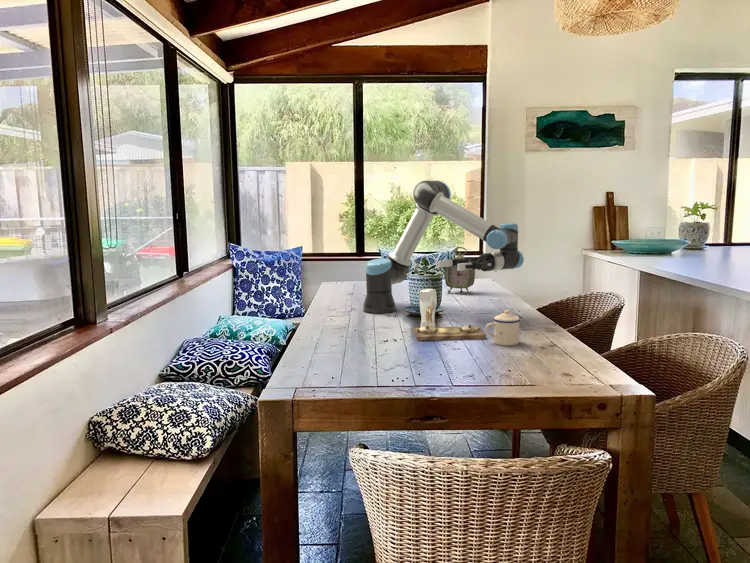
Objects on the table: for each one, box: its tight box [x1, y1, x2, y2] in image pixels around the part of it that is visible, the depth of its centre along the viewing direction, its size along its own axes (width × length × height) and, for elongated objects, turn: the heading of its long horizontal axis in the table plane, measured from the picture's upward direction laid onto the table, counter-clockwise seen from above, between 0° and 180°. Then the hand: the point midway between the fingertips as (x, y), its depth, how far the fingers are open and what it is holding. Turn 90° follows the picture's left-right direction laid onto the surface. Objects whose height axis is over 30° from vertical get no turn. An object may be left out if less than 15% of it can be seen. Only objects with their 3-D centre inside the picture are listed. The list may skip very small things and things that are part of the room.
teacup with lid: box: [484, 309, 521, 347], centre depth 197 cm, size 12×9×12 cm
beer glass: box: [418, 288, 438, 328], centre depth 223 cm, size 7×7×15 cm
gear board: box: [413, 324, 487, 342], centre depth 210 cm, size 25×14×4 cm, turn 92°
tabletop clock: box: [444, 246, 476, 295], centre depth 298 cm, size 14×9×25 cm, turn 62°
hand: (448, 265), depth 225 cm, fingers open, 13 cm apart
